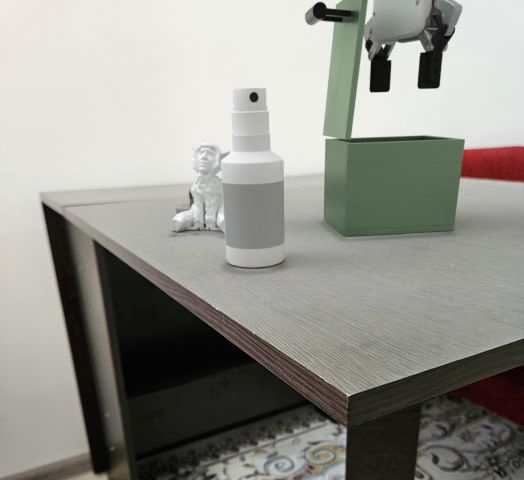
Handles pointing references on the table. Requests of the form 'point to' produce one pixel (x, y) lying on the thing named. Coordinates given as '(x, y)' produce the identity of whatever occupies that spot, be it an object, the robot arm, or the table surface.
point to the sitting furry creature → (204, 192)
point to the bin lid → (342, 62)
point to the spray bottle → (252, 186)
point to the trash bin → (392, 184)
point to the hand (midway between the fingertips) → (402, 90)
